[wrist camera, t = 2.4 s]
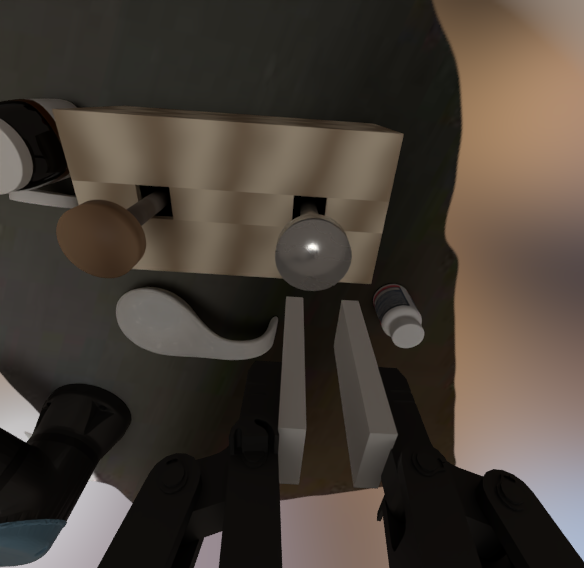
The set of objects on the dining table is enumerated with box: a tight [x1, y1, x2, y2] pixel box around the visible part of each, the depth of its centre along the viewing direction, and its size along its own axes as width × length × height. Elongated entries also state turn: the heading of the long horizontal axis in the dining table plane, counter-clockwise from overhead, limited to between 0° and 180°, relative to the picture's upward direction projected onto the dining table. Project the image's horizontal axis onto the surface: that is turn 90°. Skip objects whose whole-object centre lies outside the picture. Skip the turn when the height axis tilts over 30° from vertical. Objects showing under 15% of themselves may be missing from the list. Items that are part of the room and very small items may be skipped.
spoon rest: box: [116, 287, 278, 360], centre depth 47 cm, size 24×12×7 cm, turn 81°
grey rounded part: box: [275, 196, 352, 291], centre depth 27 cm, size 5×5×14 cm
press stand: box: [52, 106, 404, 284], centre depth 34 cm, size 28×14×12 cm, turn 86°
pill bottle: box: [373, 284, 424, 348], centre depth 44 cm, size 5×5×9 cm
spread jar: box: [0, 99, 79, 208], centre depth 33 cm, size 12×11×12 cm
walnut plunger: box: [56, 187, 171, 278], centre depth 26 cm, size 5×5×14 cm
